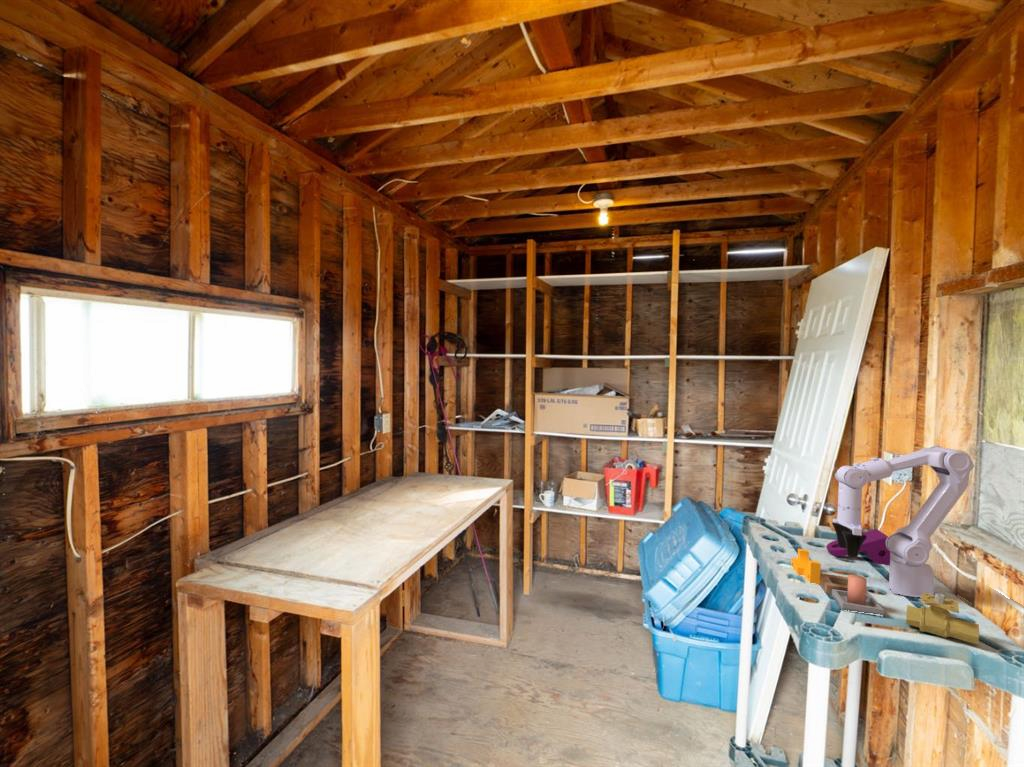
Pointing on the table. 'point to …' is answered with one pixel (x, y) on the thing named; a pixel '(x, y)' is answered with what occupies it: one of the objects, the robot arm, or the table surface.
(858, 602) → the plug
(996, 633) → the table surface
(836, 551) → the mounting bracket
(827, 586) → the square frame
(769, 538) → the table surface
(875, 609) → the tray
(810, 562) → the pipe clamp
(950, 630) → the ball valve
